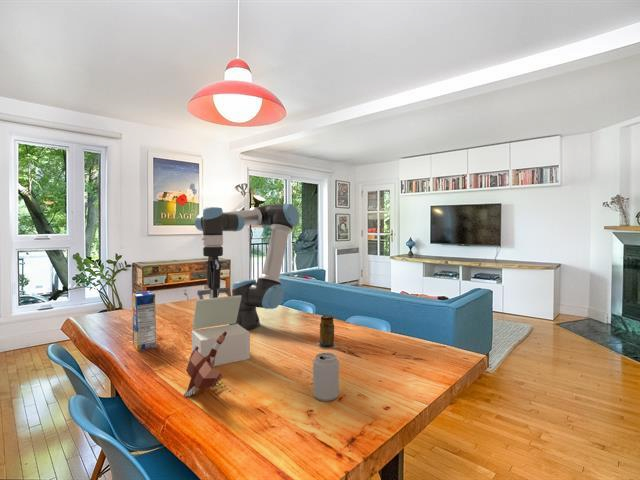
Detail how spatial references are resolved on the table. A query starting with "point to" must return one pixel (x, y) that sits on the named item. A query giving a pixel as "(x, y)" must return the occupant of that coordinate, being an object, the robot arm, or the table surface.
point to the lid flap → (216, 309)
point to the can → (326, 376)
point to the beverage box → (144, 320)
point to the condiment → (327, 333)
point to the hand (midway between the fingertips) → (213, 304)
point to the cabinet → (230, 349)
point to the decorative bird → (204, 369)
